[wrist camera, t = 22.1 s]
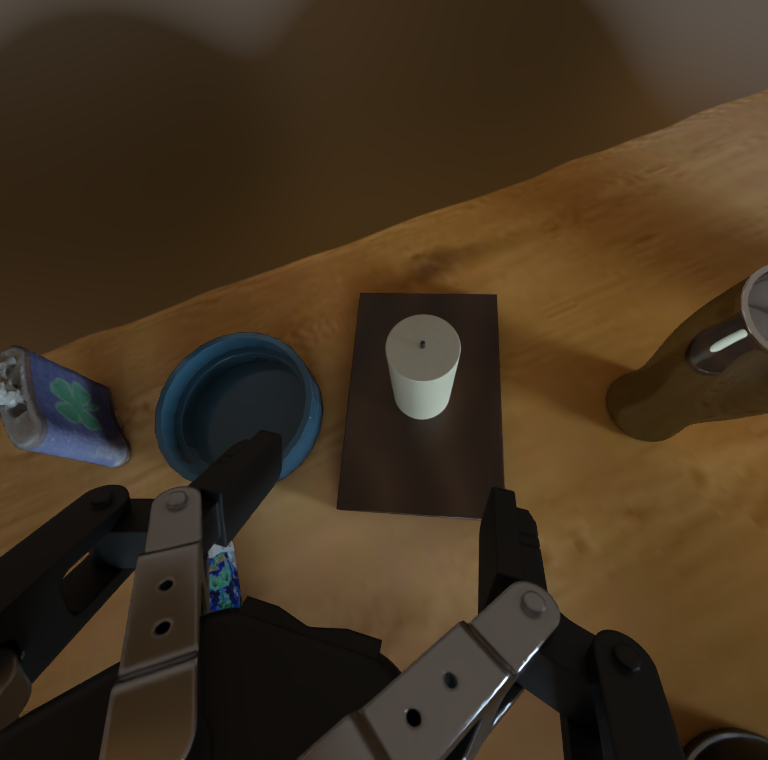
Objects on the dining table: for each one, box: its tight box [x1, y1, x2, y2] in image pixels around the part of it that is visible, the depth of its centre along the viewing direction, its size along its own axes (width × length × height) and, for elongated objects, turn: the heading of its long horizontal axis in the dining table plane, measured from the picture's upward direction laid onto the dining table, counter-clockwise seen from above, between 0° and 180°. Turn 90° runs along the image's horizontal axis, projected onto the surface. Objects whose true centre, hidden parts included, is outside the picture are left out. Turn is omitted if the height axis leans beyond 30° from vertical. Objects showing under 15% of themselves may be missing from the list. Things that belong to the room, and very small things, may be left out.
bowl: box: [155, 332, 323, 482], centre depth 33 cm, size 13×13×4 cm
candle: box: [385, 314, 461, 419], centre depth 28 cm, size 5×5×10 cm
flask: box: [0, 346, 130, 467], centre depth 30 cm, size 9×3×11 cm, turn 32°
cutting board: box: [337, 293, 505, 520], centre depth 33 cm, size 13×20×2 cm, turn 176°
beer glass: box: [606, 265, 768, 442], centre depth 25 cm, size 7×7×15 cm
